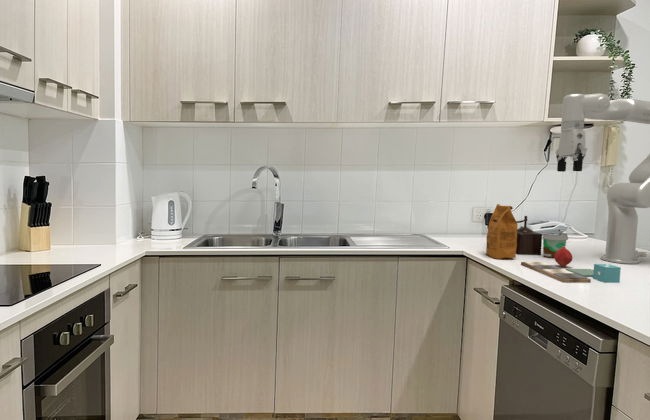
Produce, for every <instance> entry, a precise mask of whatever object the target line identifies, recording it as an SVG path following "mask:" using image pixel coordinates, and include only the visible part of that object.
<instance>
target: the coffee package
mask: <svg viewBox="0 0 650 420" xmlns="http://www.w3.org/2000/svg"><path fill="white" fill-rule="evenodd" d="M513 209H514V208H513V206H512V205H501V204H500V203H498V204H496V207H495V208H494V210H493V212H492V215H491V217H490V219H489V223H488V227H487V233H486V247H485V248H486V249H485V250H486V251H485V252H486V253H485V254H486V255H487V256H489V257H490V258H492V259H496V260H502V259H515V258H516V255H517V254H516V247H517V242H516V240H517V229H518V226H519V225H518V224H519V223H517V222H516V221H517V220H516V218H515V217H514V214H513V212H512V210H513Z"/></svg>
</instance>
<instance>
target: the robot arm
mask: <svg viewBox="0 0 650 420" xmlns="http://www.w3.org/2000/svg"><path fill="white" fill-rule="evenodd" d="M561 108H562V110H561V125H560V135H559V141H558V148H557V149H556V150H555V155H556V157H555V158H556V162H557V166H556V167H557V168H556V171H557V172H562V173H563V172H564V173H565V172H566V169H567V161H566V160H567V158H568V157H570V158H572V157H573V159H574V160H572V161H573V165H572V171H573V172H582V171H583V163H584V161H585V157H586V153H587V151H588V147H586V131H585V129H584V127H585V119H588V120H596V121H597V120H598V121H601V120H602V121H603V120H604V121H623V122H629V123H630V122H631V123H638V124H644V125H650V101H649V100H642V99H636V98H635V99H634V98H620V99H612V100H611V98H610V97H609V96H608V95H607V94H604V93H600V92H599V93H591V94H583V93H571V94H567V95H565V96H563V99H562V107H561ZM606 200H607V208H608V213H607V214H608V215H607V216H608V218H607V230H606V240H605V241H606V242H605V243H606V244H605V254H601V255H600V259H601V260H603V261H607V262H611V263H616V264H625V265H626V264H628V265H630V264H631V265H633V264H635V265H636V264H639V263H640V262H641V261H640V259H638V258H639V257H640V258H646V257H647V255H648V254H647V252H645V251H640V252H639V251H638V250H636V246H637V235H638V233H637V232H638V224H639V218H638V216H639V215H638V213H637V209H648V208H650V153H649V154H647V157H645V158H644V159H643V160H642V161H641V162H640V163H639V164H638V165H637V166H636V167H635V168H634V169H632V171H631V172H630V174H629V177H628V182H617V183H614V184H612V185H611V186H610V187H608V190H607V192H606ZM636 208H637V209H636Z"/></svg>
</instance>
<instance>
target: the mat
mask: <svg viewBox="0 0 650 420" xmlns="http://www.w3.org/2000/svg"><path fill="white" fill-rule="evenodd" d="M565 270H567V271H570V272H573V273H575V274H578V275H581V276H584V277H586V278H593V273H594V269H592V268H565Z"/></svg>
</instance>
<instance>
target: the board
mask: <svg viewBox="0 0 650 420" xmlns="http://www.w3.org/2000/svg"><path fill="white" fill-rule="evenodd" d="M520 265H521V266H523V267H526V268H529V269H531V270H533V271H535V272H537V273H540V274H542V275H545V276H547V277H550V278H552V279H555V280H557V281H558V282H562V283H591V282H592V279H591V278H590V277H584V276H581V275H578V274H575V273H573V272H570V271H567V270H566V269H565V268H564V269H563V267H559V266H556V265H553V264H550V263H548V262H545V261H521V262H520Z"/></svg>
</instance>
